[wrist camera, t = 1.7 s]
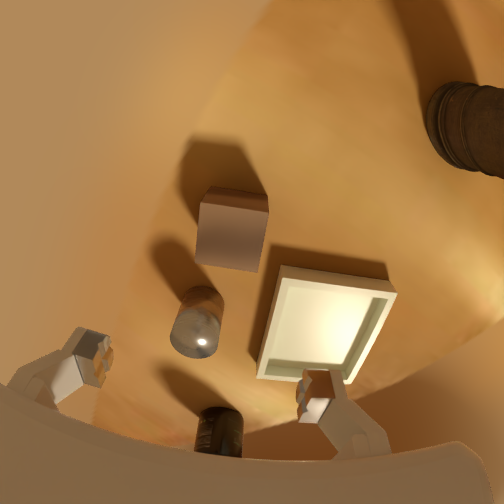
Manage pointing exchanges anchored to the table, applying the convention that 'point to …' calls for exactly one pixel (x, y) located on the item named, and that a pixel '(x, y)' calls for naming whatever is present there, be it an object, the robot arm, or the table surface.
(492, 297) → the table surface
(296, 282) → the tray
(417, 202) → the table surface
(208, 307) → the metal cylinder
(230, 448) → the supplement bottle
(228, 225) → the walnut block
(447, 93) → the container
